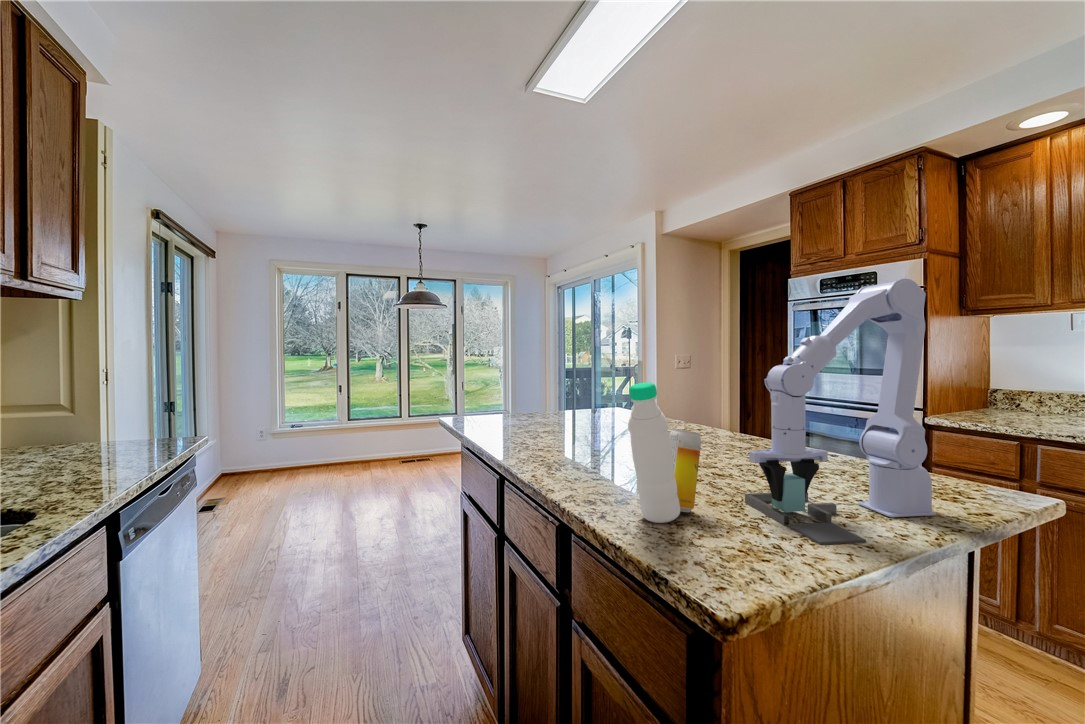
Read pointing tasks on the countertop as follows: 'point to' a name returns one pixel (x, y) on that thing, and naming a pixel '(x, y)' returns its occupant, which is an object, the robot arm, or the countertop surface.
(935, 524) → the countertop surface
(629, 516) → the countertop surface
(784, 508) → the teal block
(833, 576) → the countertop surface
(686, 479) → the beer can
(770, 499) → the outer rail
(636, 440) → the water bottle
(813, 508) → the rail
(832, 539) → the rubber pad
